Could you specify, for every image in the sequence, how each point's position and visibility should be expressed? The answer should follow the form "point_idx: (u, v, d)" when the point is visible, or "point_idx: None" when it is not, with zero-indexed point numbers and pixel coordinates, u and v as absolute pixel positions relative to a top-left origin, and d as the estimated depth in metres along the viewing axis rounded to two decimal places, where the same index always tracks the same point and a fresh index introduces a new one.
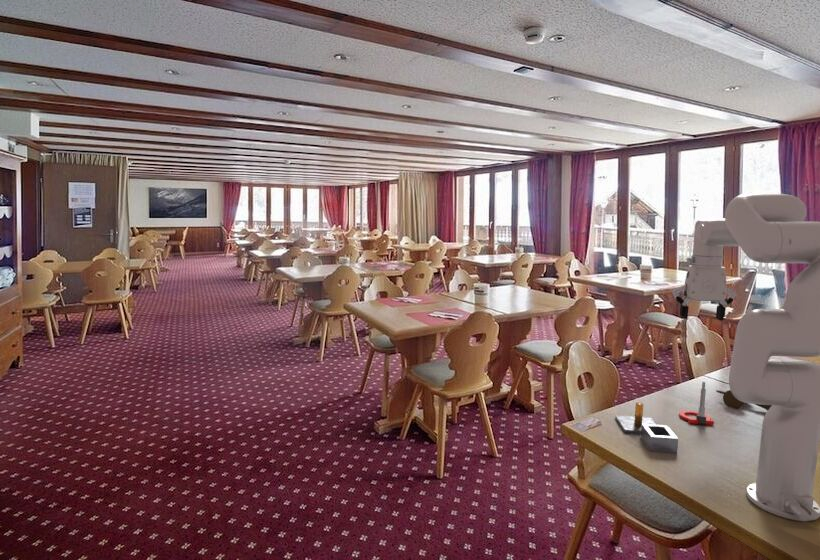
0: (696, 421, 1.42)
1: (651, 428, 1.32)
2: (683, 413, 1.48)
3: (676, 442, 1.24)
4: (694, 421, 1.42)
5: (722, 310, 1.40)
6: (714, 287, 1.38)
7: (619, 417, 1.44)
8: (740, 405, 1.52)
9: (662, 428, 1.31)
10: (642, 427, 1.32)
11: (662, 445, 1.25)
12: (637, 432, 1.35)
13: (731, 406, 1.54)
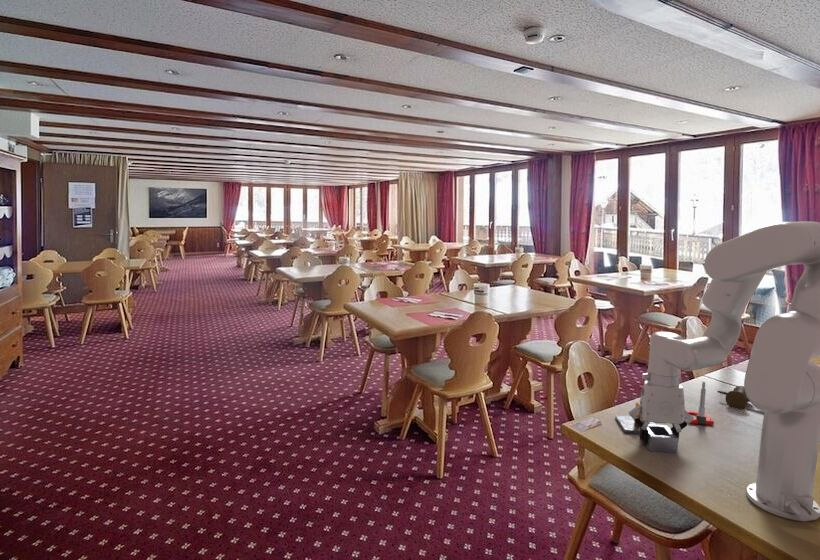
0: (696, 421, 1.42)
1: (651, 428, 1.32)
2: None
3: (676, 442, 1.24)
4: (694, 421, 1.42)
5: None
6: (671, 409, 1.25)
7: (619, 417, 1.44)
8: (743, 405, 1.52)
9: (662, 428, 1.31)
10: None
11: (662, 445, 1.25)
12: (637, 432, 1.35)
13: (734, 407, 1.54)
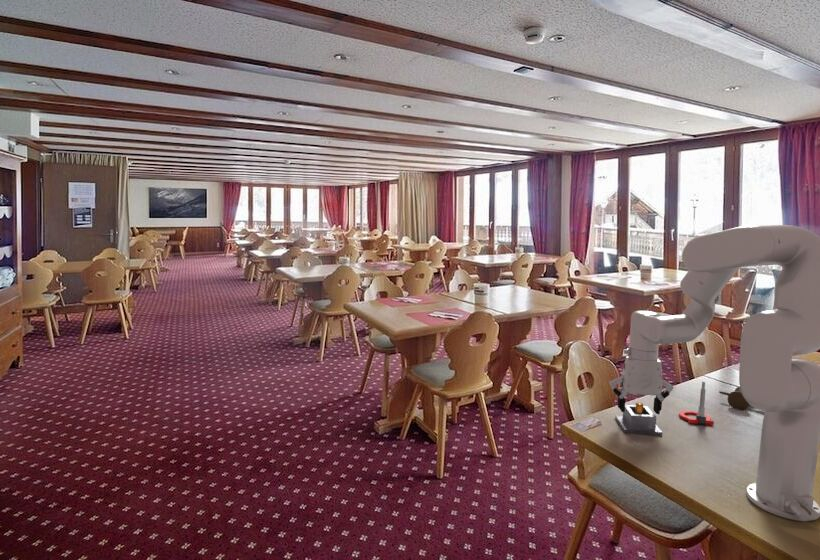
0: (696, 421, 1.42)
1: (632, 408, 1.42)
2: (683, 413, 1.48)
3: (654, 420, 1.35)
4: (694, 421, 1.42)
5: (658, 404, 1.37)
6: (650, 381, 1.35)
7: (619, 417, 1.44)
8: (745, 406, 1.52)
9: None
10: None
11: (641, 423, 1.36)
12: (637, 432, 1.35)
13: (736, 407, 1.53)
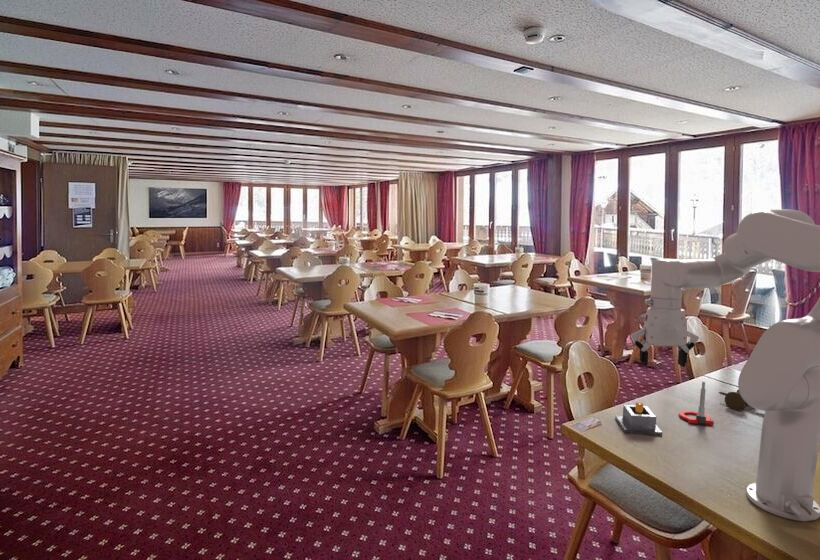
0: (696, 421, 1.42)
1: (632, 408, 1.42)
2: (683, 413, 1.48)
3: (654, 420, 1.35)
4: (694, 421, 1.42)
5: (683, 356, 1.30)
6: (674, 331, 1.29)
7: (619, 417, 1.44)
8: (741, 407, 1.51)
9: None
10: (624, 408, 1.43)
11: (641, 423, 1.36)
12: (637, 432, 1.35)
13: (733, 408, 1.53)
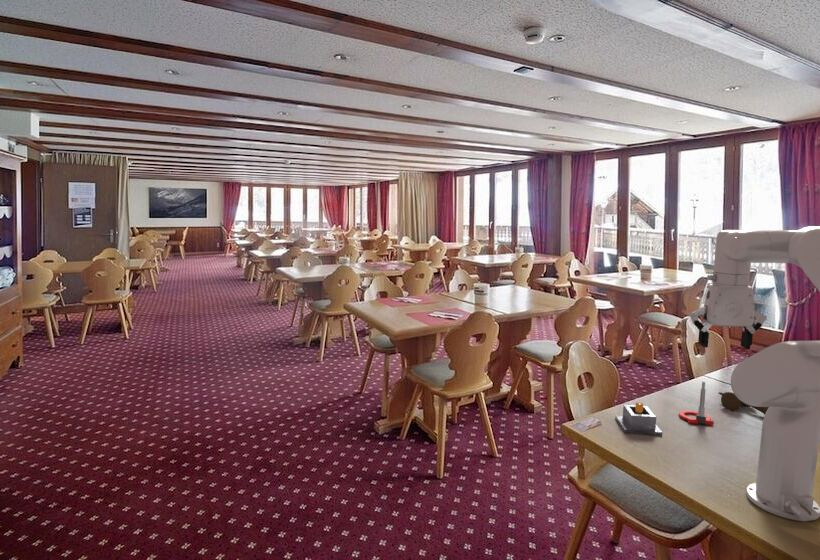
0: (696, 421, 1.42)
1: (632, 408, 1.42)
2: (683, 413, 1.48)
3: (654, 420, 1.35)
4: (694, 421, 1.42)
5: (749, 337, 1.19)
6: (740, 310, 1.17)
7: (619, 417, 1.44)
8: (736, 407, 1.50)
9: None
10: (624, 408, 1.43)
11: (641, 423, 1.36)
12: (637, 432, 1.35)
13: (728, 408, 1.53)
